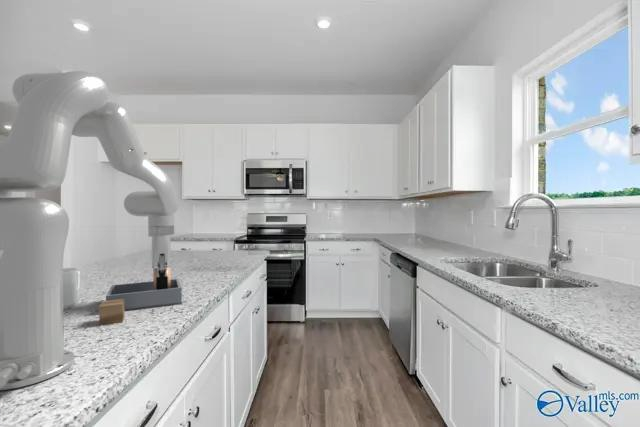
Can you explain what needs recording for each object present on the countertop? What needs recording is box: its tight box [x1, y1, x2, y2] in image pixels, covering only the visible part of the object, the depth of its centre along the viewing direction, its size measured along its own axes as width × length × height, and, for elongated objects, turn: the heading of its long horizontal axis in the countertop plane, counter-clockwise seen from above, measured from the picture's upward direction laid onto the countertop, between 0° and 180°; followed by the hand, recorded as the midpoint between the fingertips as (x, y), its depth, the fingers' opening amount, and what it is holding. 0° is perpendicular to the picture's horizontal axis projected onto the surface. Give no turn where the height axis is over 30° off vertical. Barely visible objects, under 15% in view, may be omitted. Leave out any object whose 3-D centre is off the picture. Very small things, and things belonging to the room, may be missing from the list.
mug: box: [63, 267, 81, 310], centre depth 96 cm, size 12×9×11 cm
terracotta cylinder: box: [152, 266, 172, 290], centre depth 102 cm, size 5×5×7 cm
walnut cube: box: [98, 299, 125, 327], centre depth 83 cm, size 5×5×5 cm
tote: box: [105, 278, 183, 312], centre depth 100 cm, size 20×15×5 cm
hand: (161, 286), depth 102 cm, fingers closed on terracotta cylinder, 4 cm apart
